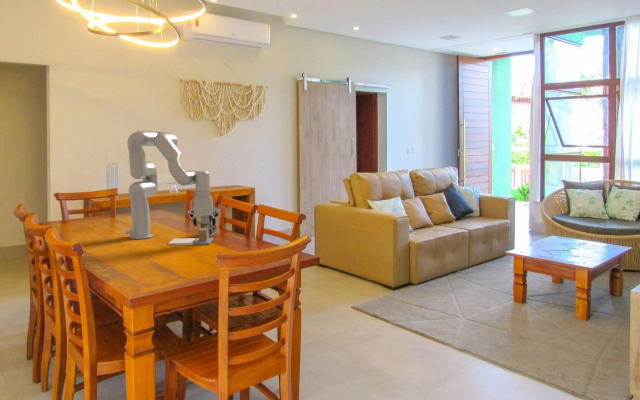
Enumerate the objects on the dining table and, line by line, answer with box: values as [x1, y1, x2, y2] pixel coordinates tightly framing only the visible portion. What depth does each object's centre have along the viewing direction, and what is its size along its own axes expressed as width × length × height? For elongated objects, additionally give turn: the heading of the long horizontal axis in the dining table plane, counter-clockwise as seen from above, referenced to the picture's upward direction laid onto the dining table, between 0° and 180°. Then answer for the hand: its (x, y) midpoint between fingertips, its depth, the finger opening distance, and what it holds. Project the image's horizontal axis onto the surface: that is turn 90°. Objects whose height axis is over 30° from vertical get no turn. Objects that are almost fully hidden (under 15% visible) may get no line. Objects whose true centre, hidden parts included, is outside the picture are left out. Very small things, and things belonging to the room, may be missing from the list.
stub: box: [194, 227, 214, 245], centre depth 266 cm, size 8×12×7 cm, turn 2°
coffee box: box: [200, 206, 218, 237], centre depth 285 cm, size 9×6×16 cm
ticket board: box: [168, 237, 199, 246], centre depth 266 cm, size 13×12×1 cm
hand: (204, 225), depth 265 cm, fingers open, 9 cm apart
